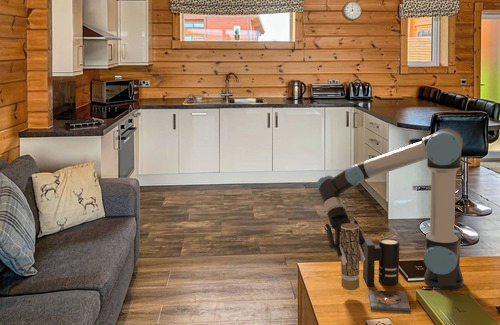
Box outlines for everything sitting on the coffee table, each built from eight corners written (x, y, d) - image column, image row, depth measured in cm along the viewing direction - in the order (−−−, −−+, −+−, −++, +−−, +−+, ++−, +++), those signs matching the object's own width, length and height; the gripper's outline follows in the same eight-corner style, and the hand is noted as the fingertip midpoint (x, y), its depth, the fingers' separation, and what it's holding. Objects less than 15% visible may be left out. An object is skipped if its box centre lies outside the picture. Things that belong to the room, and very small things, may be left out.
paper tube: (359, 291, 188) (359, 228, 184) (341, 290, 189) (340, 228, 185) (359, 284, 194) (358, 223, 190) (341, 283, 196) (340, 223, 192)
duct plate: (405, 295, 192) (405, 291, 192) (409, 312, 179) (410, 307, 179) (368, 293, 195) (368, 289, 195) (370, 309, 181) (370, 305, 181)
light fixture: (401, 286, 200) (402, 245, 197) (367, 287, 201) (367, 245, 198) (395, 277, 210) (396, 237, 207) (362, 277, 211) (363, 237, 208)
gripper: (355, 212, 205) (374, 263, 192) (310, 218, 200) (327, 270, 187) (360, 203, 199) (381, 254, 186) (315, 208, 194) (333, 261, 181)
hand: (354, 262), depth 187 cm, fingers closed on paper tube, 7 cm apart
